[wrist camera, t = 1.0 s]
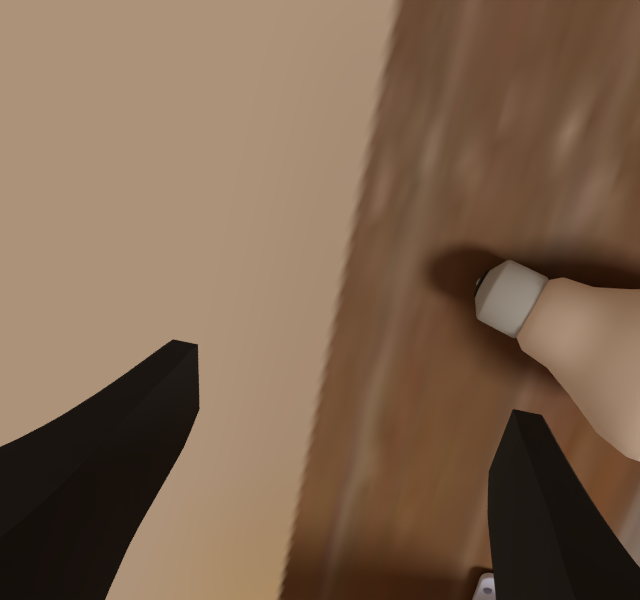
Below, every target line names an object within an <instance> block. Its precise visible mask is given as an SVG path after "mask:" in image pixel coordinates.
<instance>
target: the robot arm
mask: <svg viewBox="0 0 640 600" xmlns="http://www.w3.org/2000/svg"><path fill="white" fill-rule="evenodd" d="M198 411H199V374H198V345H197V344H192V343H188V342H182V341H178V340H171V341H170V342H168V343H167V344H166V345H164V346H163V347H161V348H160V349H159V350H157V351H156V352H155V353H153V354H152V355H150V356H149V357H148V358H146V359H145V360H144V361H142V362H141V363H139V364H138V365H137V366H135V367H134V368H133V369H131V370H130V371H129V372H127V373H126V374H124V375H123V376H121V377H120V378H118V379H117V380H116V381H115V382H113V383H111V384H110V385H108V386H107V387H105V388H104V389H103V390H101V391H100V392H98V393H97V394H95V395H94V396H92V397H90V398H89V399H87V400H86V401H84V402H82V403H81V404H79V405H78V406H77V407H75V408H73V409H71V410H70V411H68V412H67V413H65V414H63V415H62V416H60V417H58V418H56V419H55V420H53V421H51V422H49V423H47V424H46V425H44V426H42V427H40V428H38V429H36V430H34V431H33V432H30V433H28V434H26V435H25V436H23V437H21V438H19V439H17V440H14V441H12V442H10V443H8V444H6V445H3V446H1V447H0V600H105V598H106V596H107V594H108V591H109V589H110V587H111V584H112V582H113V580H114V578H115V575H116V573H117V571H118V569H119V566H120V564H121V562H122V559H123V557H124V555H125V553H126V550H127V548H128V546H129V544H130V542H131V541H132V539H133V537H134V535H135V533H136V531H137V529H138V527H139V525H140V523H141V522H142V520H143V518H144V517H145V515H146V513H147V511H148V509H149V508H150V506H151V504H152V502H153V501H154V499H155V497H156V496H157V494H158V492H159V490H160V489H161V487H162V485H163V483H164V481H165V480H166V478H167V476H168V474H169V473H170V471H171V469H172V467H173V465H174V464H175V462H176V460H177V458H178V457H179V455H180V453H181V451H182V449H183V448H184V445H185V443H186V440H187V438H188V436H189V434H190V431H191V429H192V426H193V424H194V421H195V418H196V416H197V414H198ZM488 525H489V536H490V546H491V556H492V566H493V573H484V574H482V575H481V577H480V580H479V582H478V585H477V588H476V590H475V593H474V596H473V599H472V600H640V567H639V566H638V565H637V564H636V563H635V561H634V560H633V559H632V558H631V556H630V555H629V554H628V552H627V551H626V549H625V548H624V547H623V545H622V544H621V543H620V541H619V540H618V538H617V537H616V536H615V534H614V533H613V531H612V530H611V528H610V527H609V526H608V524H607V523H606V521H605V520H604V518H603V517H602V515H601V514H600V512H599V511H598V509H597V508H596V506H595V505H594V503H593V501H592V500H591V498H590V497H589V495H588V493H587V492H586V490H585V489H584V487H583V485H582V484H581V482H580V481H579V479H578V477H577V476H576V474H575V472H574V471H573V469H572V467H571V466H570V464H569V462H568V460H567V459H566V457H565V455H564V453H563V452H562V450H561V448H560V446H559V445H558V443H557V441H556V439H555V437H554V436H553V434H552V432H551V430H550V428H549V426H548V425H547V423H546V421H545V419H544V418H543V416H542V415H539V414H534V413H529V412H524V411H520V410H515V409H513V410H512V413H511V416H510V418H509V421H508V423H507V426H506V429H505V431H504V434H503V436H502V439H501V441H500V444H499V447H498V449H497V452H496V454H495V457H494V460H493V462H492V465H491V467H490V470H489V479H488ZM486 587H487V588H486Z"/></svg>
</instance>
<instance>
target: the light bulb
mask: <svg viewBox="0 0 640 600" xmlns="http://www.w3.org/2000/svg"><path fill="white" fill-rule="evenodd" d="M476 285H477V287H476V290H475V294H474V297H475V305H476V317H477V319H478V320H480V321H482V322H483V323H485V324H487V325H489V326H491V327H493V328H495V329H497V330H499V331H501V332H503V333H504V334H506V335H508V336H510V337H512V338H517V340H518V342H519V345H520V347H521V349H522V351H524V352H525V353H527V354H528V355H529V356H531V357H532V358H534V359H535V360H537V361H538V362H539V363H541V364H542V365H544V366H545V367H547V368H548V370H549V371H550V372H551V373H552V374H553V376H554V377H555V378H556V379H557V381H558V382H559V383H560V384H561V385H562V387H563V388H564V389H565V390H566V392H567V393H568V394H569V395H570V397H571V398H572V399H573V401H574V402H575V404H576V405H577V406H578V408H579V409H580V410H581V412H582V413H583V415H584V416H585V417H586V419H587V420H588V421H589V423H590V424H591V426H592V427H593V428H594V430H595V431H596V432H597V434H599V435H600V436H601V437H602V438H604V439H605V440H606V441H607V442H609V443H610V444H611V445H612V446H614V447H615V448H616V449H617V450H619V451H620V452H621V453H622V454H624V455H625V456H626V457H628V458H631V459H634V460H637V461H640V289H616V288H599V287H592V286H589V285H585V284H582V283H579V282H576V281H573V280H570V279H567V278H564V277H562V278H557V279H552V280H549V279H548V278H547V277H546V276H544V275H542V274H540V273H537V272H535V271H533V270H531V269H529V268H527V267H525V266H523V265H521V264H519V263H517V262H515V261H512V260H507V261H505V262H504V263H502V264H500V265H498V266H497V267H495V268H493V269H491V270H488V271H487V272H486V273H485V274H484V275H483V276H482V278H481V279H480V278H479V279H478V281H477V283H476Z"/></svg>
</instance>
